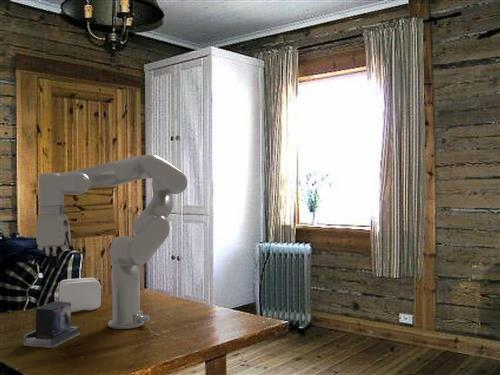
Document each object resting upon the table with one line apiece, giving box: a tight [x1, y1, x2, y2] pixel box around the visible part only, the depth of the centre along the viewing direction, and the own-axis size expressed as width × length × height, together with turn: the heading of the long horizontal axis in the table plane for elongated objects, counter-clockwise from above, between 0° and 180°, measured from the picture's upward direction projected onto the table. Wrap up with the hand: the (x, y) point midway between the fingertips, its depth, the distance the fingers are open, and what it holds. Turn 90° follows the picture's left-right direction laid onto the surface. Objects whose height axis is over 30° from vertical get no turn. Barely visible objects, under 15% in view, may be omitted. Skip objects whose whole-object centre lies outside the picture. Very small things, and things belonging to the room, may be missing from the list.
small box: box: [35, 300, 72, 339], centre depth 164 cm, size 11×6×10 cm, turn 167°
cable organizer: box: [58, 277, 102, 313], centre depth 206 cm, size 15×11×12 cm
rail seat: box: [23, 326, 81, 349], centre depth 164 cm, size 10×14×3 cm
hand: (53, 267), depth 164 cm, fingers closed
